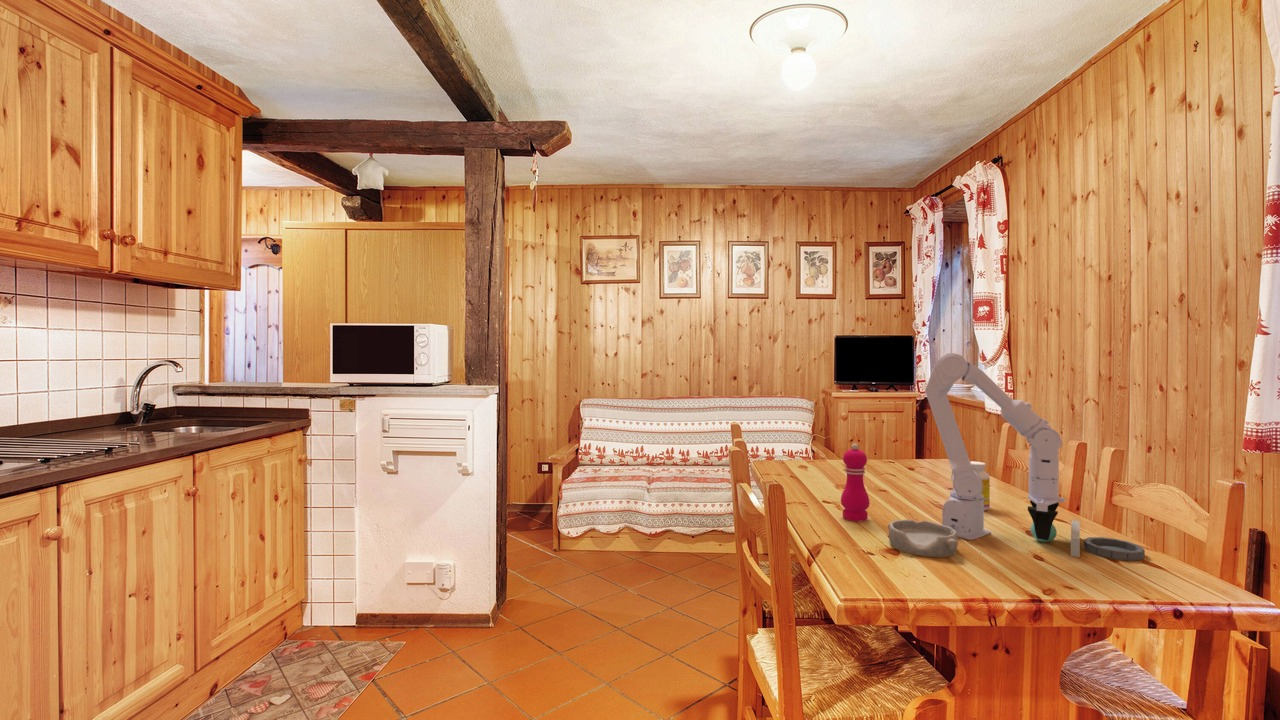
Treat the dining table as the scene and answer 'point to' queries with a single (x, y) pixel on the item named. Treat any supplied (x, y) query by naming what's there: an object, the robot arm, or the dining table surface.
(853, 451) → the pepper mill
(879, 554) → the dining table surface
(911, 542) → the dish
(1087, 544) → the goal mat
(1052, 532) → the ball
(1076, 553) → the acrylic wall
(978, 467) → the supplement bottle
